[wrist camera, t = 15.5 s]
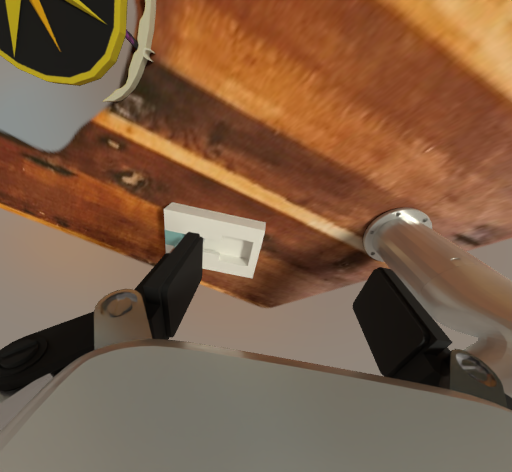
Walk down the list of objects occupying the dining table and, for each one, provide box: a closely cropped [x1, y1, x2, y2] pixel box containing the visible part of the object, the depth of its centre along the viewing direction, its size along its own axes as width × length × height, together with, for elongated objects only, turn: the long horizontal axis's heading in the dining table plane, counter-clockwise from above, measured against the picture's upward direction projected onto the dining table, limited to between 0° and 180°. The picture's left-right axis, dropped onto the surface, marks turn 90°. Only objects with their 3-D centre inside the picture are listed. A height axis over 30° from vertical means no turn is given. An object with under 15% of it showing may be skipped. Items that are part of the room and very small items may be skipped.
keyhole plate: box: [164, 202, 266, 278], centre depth 42 cm, size 20×13×4 cm, turn 78°
